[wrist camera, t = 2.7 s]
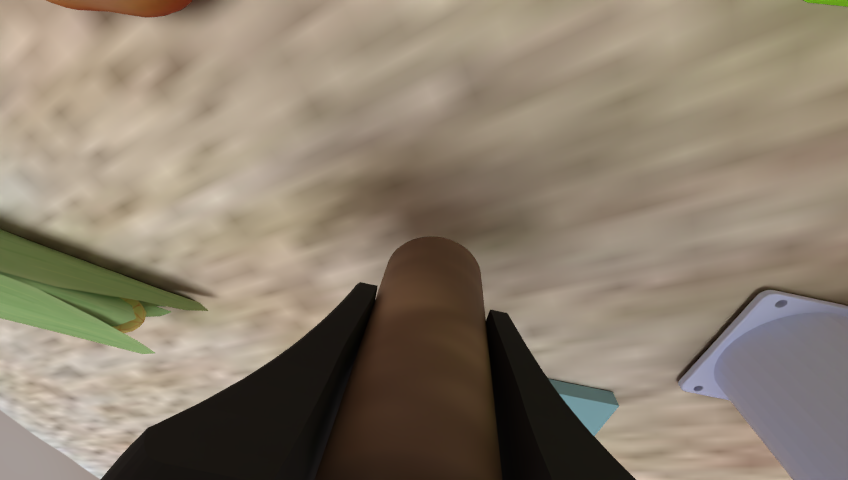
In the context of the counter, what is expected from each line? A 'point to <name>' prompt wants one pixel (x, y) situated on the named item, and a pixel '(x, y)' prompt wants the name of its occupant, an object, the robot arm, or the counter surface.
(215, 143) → the counter surface
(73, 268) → the edible corn
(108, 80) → the counter surface
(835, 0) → the wineglass
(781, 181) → the counter surface
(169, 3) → the fruit
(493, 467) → the peg
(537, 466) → the robot arm
